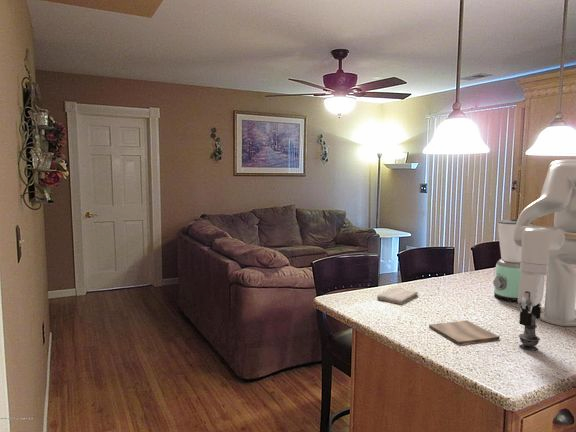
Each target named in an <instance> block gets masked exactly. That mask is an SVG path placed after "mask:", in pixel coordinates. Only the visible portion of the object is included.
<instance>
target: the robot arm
mask: <svg viewBox="0 0 576 432" xmlns="http://www.w3.org/2000/svg"><path fill="white" fill-rule="evenodd" d="M539 196H540V197H539V198H538V199H536V200H535V201H533V202H531V203H530V204H529V205H527V206H526V207H525V208H524V209H523V210H522V211H521V212H520V214H519V215H518V218H517V219H518V220H517V223H516V226H515V229H514V234H513V239H514V242H515V244H516V245H518V246H520V247H522V248H521V262H520V272H522V274H521V279H520V285H519V293H518V300H517V303H518V304H520V310H519V320H518V321H519V325H522V326H524V325H525V326H531V323H532V314H533V315H535V316H536V320H541V321H543V322H545V323H548V324H552V325H554V326H555V325H556V326H560V327H575V326H576V271H575V269H574V268H573V267H572V266H571V265H575V266H576V237H566V236H565V234H568V235H576V159H573V158H569V159H567V158H566V159H557V160H554V161H552V162H550V163H549V165H548V170H547V173H546V176H545V180H544V182H543V186H542V189H541V192H540V195H539ZM551 214H554V217H553V218H554V219H553V226H544V225H535V224H534V225H533V224H532V225H529V224H530V223H531V222H533V221H534V220H537V219H538V218H540V217H544V216H547V215H551ZM545 276H546V282H545ZM544 284H545V285H544ZM544 286H545V287H544ZM544 288H545V296H544ZM543 297H545V298H544V311H543V312H541V311H542V310H541V309H542V301H543ZM531 312H532V313H531ZM525 326H524V327H525Z"/></svg>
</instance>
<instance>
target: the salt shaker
mask: <svg viewBox="0 0 576 432" xmlns="http://www.w3.org/2000/svg"><path fill="white" fill-rule="evenodd" d="M531 313H532V312H531ZM536 323H537V319H536V316H535V315H533V314H532V323H531V326H525V325H523V326H524V330H523V333H520V334H519V335H518V337H519V341H520V342H521V344H520V345H519V348H520V350H522V351H527V352H538V351H539V347H537V345H538V344H539V342H540V340H541V338H540V337H539V336H538V335H537V334H536V328H537V327H538V326H537V325H536Z"/></svg>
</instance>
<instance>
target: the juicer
mask: <svg viewBox="0 0 576 432" xmlns="http://www.w3.org/2000/svg"><path fill="white" fill-rule="evenodd" d="M517 220H518V218H517V219H516V218H510V219H500V220H497V231H498V241H499V249H500V250H499V251H500V257H501V258H499V260H497V261H496V264H495V271H494V279H493V282H492V284H493V286H494V287H493V294H494V295H493V296H494V297H495V298H499V299H503V300H506V301H507V302H509V303H513V302H514V301H518V293H519V285H520V279H521V274H522V272H520V262H521V248H522V247H520V246H518V245H516V244H515V242H514V239H513V234H514V229H515V226H516V223H517ZM533 223H534V222H533V221H532V222H531V223H530V224H529V225H533Z"/></svg>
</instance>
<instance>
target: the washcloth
mask: <svg viewBox="0 0 576 432" xmlns="http://www.w3.org/2000/svg"><path fill="white" fill-rule="evenodd" d="M418 294H419V291H417V290H410V289H405V288H402V287H396V286H395V287H393V288H390V287H389V288H388V289H386V290H384V291H382V292H380V293H378V294H377V297H376V299H377V300H379V301H383V302H388V303H392V304H397V305H401V306H402V305H403V304H406V303H407V302H409V301H411V300H412V299H414V298H417V297H418V296H419V295H418Z"/></svg>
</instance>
